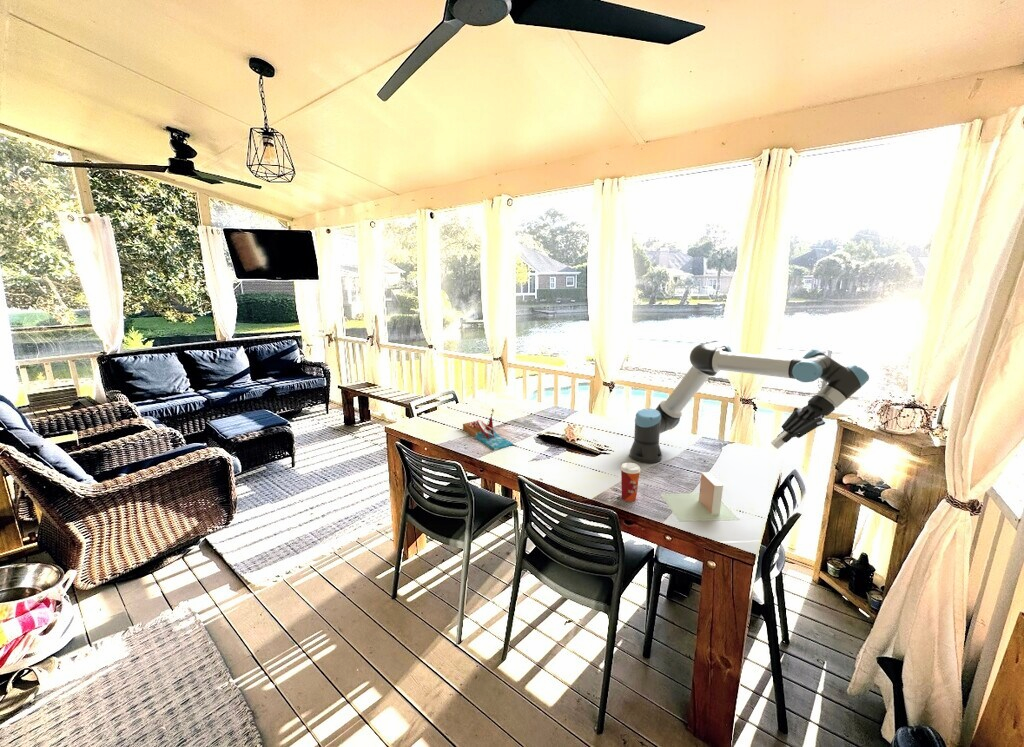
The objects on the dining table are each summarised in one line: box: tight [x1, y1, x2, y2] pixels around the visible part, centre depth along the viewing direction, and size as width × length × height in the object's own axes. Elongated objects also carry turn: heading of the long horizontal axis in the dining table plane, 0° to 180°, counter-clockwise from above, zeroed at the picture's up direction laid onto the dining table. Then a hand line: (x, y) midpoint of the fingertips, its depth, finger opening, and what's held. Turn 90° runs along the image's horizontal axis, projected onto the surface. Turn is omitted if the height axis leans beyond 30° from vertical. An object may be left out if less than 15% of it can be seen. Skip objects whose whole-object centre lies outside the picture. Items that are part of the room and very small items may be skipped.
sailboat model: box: [462, 408, 514, 451], centre depth 225 cm, size 12×37×17 cm, turn 33°
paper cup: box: [620, 462, 642, 503], centre depth 159 cm, size 8×8×14 cm
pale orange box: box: [698, 471, 724, 515], centre depth 151 cm, size 10×3×12 cm, turn 1°
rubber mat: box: [659, 492, 740, 522], centre depth 153 cm, size 19×22×1 cm
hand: (774, 445), depth 147 cm, fingers closed
